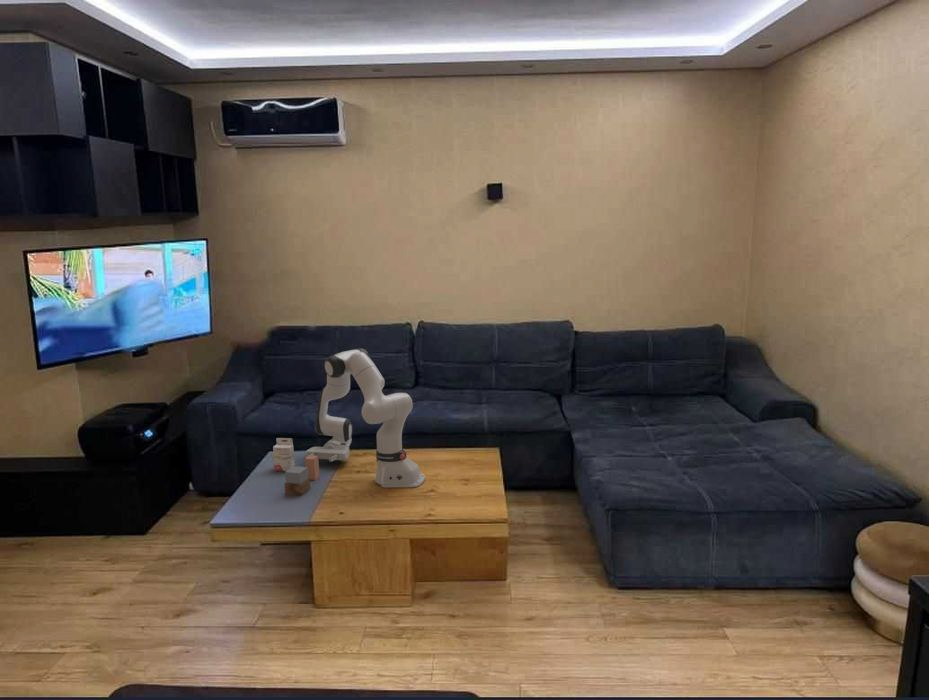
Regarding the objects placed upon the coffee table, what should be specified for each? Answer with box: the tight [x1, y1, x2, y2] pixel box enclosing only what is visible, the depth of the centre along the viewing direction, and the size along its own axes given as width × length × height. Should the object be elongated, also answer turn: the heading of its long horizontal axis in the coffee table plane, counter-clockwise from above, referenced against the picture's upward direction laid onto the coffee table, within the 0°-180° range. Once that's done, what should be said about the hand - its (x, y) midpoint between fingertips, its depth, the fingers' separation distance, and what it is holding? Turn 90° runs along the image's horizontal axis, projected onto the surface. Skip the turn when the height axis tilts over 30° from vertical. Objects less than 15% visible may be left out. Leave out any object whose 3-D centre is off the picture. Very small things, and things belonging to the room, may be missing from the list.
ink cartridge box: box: [272, 437, 296, 472], centre depth 315 cm, size 9×5×15 cm, turn 84°
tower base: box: [284, 478, 312, 496], centre depth 290 cm, size 8×8×5 cm
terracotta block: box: [304, 455, 320, 481], centre depth 304 cm, size 4×4×10 cm
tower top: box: [284, 465, 308, 484], centre depth 289 cm, size 7×7×5 cm
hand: (320, 459), depth 313 cm, fingers open, 8 cm apart
